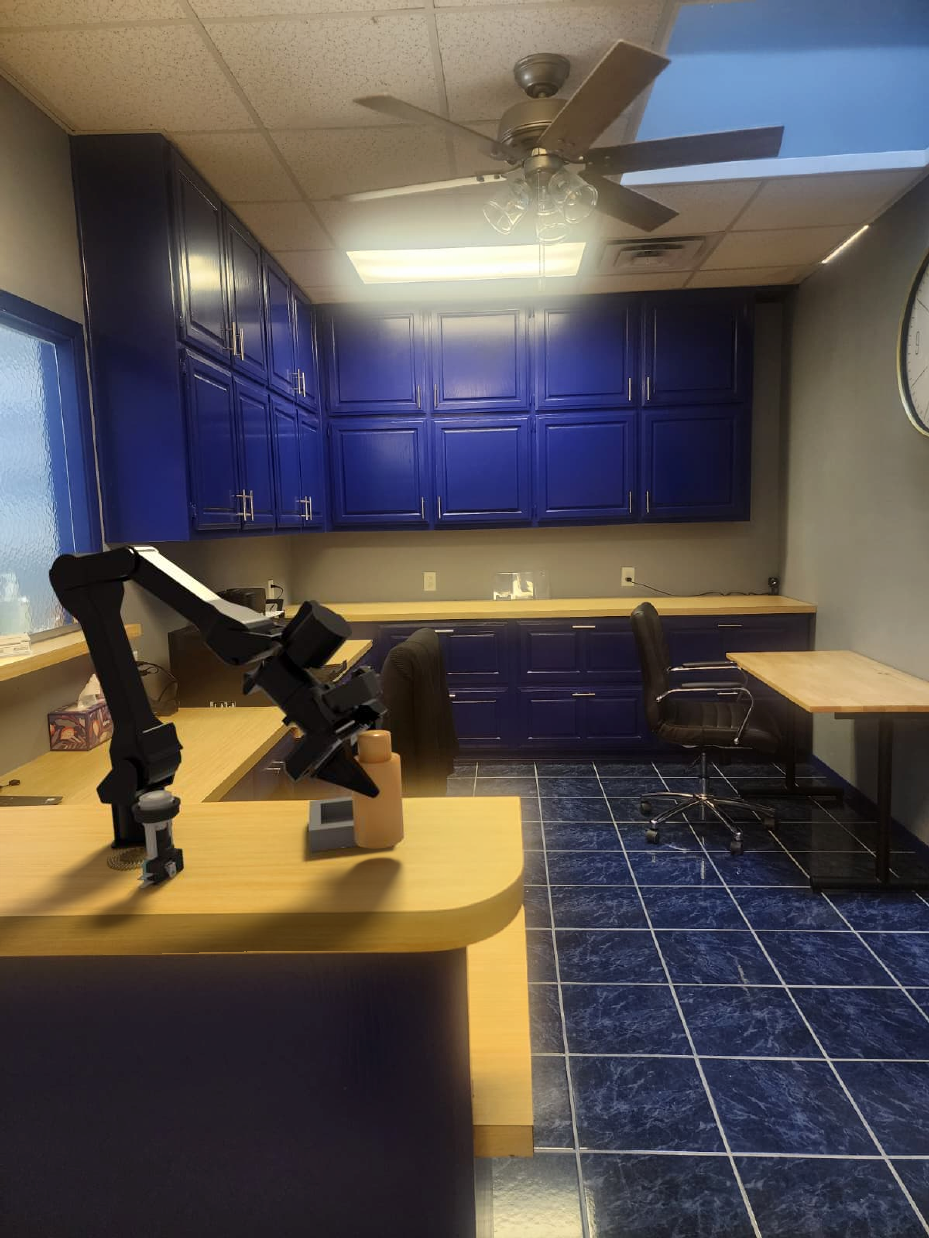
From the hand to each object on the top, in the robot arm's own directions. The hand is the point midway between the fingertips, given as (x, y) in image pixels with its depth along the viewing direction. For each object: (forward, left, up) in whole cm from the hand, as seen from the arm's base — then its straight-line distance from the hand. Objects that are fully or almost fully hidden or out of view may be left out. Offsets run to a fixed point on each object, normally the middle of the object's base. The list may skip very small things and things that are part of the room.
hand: (387, 786), depth 88 cm
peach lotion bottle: (-1, +1, -7) cm, 7 cm away
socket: (-4, +11, -9) cm, 15 cm away
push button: (-27, +3, -9) cm, 29 cm away
